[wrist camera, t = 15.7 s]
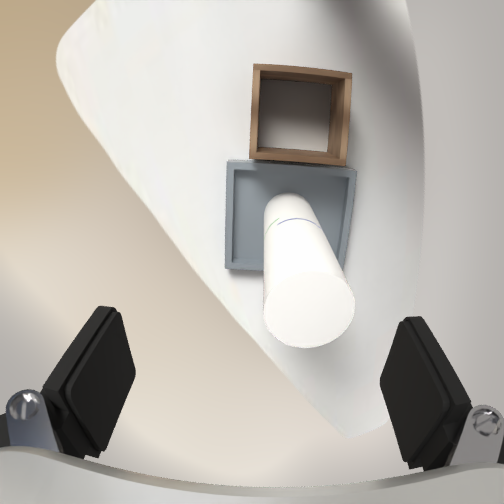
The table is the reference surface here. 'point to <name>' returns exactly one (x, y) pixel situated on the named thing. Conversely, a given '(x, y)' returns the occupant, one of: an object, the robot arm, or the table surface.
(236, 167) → the slate tray
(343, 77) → the walnut box
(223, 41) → the table surface
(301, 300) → the cylindrical container
